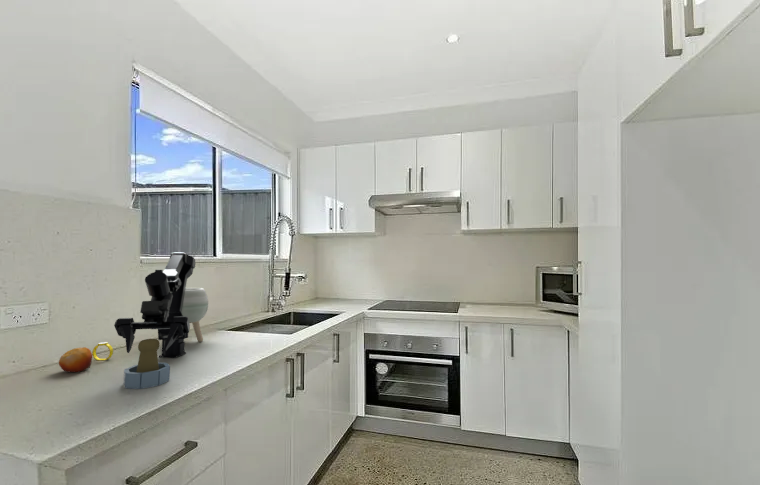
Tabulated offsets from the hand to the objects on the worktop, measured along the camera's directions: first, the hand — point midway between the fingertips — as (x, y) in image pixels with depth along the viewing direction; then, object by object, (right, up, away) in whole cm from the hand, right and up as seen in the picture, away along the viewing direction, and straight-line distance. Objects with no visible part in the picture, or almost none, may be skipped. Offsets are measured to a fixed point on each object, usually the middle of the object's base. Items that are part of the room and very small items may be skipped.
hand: (146, 351), depth 102 cm
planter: (-16, -11, +49) cm, 53 cm away
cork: (-1, -8, +1) cm, 8 cm away
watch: (-30, -10, +22) cm, 39 cm away
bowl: (-1, -9, +1) cm, 9 cm away
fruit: (-29, -9, +10) cm, 32 cm away
